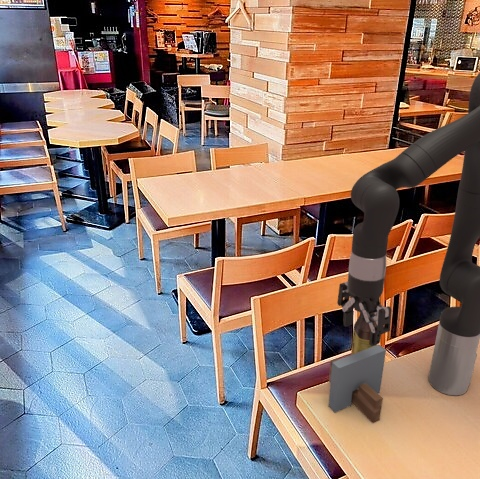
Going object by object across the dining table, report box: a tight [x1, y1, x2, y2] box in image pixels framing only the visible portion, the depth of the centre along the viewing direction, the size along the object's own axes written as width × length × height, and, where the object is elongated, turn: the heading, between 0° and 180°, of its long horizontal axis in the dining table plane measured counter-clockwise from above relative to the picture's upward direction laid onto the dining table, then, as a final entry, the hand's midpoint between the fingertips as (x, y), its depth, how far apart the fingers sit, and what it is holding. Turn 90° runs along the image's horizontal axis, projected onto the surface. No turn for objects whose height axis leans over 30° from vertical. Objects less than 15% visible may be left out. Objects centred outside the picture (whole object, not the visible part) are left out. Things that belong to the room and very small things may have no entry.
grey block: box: [328, 344, 387, 414], centre depth 108 cm, size 14×2×13 cm, turn 118°
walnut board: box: [328, 358, 384, 424], centre depth 109 cm, size 2×16×6 cm, turn 28°
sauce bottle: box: [350, 312, 377, 355], centre depth 119 cm, size 7×6×20 cm
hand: (360, 334), depth 103 cm, fingers open, 8 cm apart
